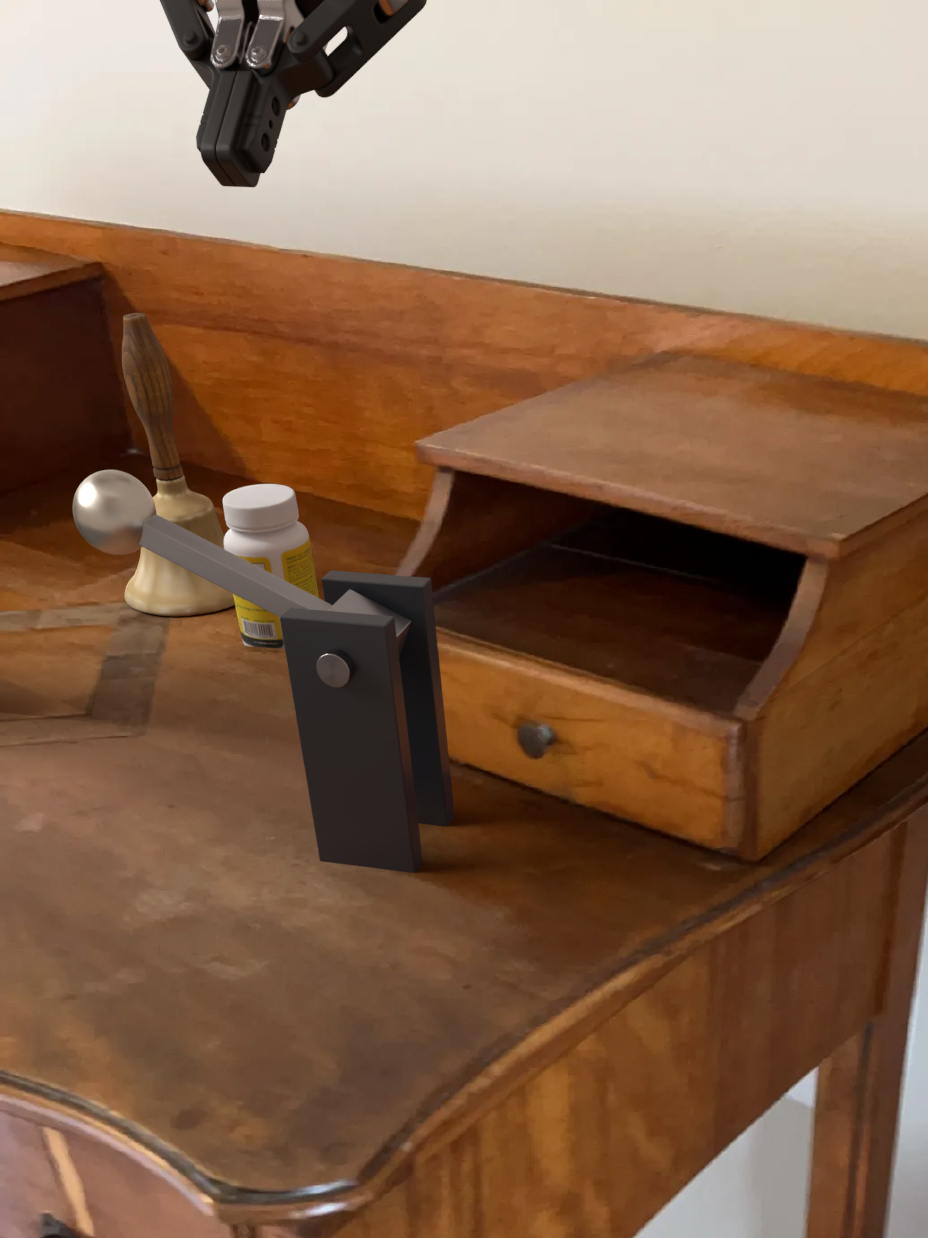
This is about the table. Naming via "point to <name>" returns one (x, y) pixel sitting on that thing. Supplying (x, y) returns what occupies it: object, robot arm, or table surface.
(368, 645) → the bracket
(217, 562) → the tap lever
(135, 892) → the table surface
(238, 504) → the supplement bottle
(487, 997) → the table surface
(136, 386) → the hand bell
